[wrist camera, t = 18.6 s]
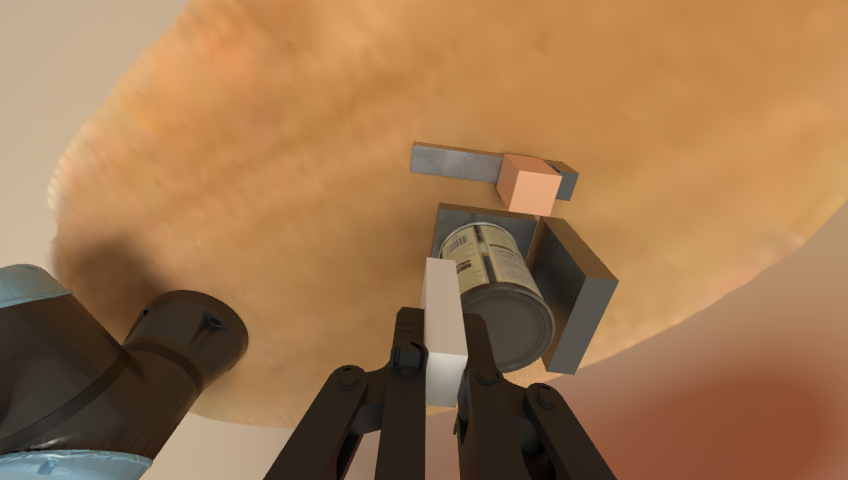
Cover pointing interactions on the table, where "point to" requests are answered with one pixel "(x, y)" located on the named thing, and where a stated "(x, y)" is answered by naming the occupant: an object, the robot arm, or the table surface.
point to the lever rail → (477, 165)
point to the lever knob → (527, 185)
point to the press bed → (548, 275)
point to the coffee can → (500, 293)
